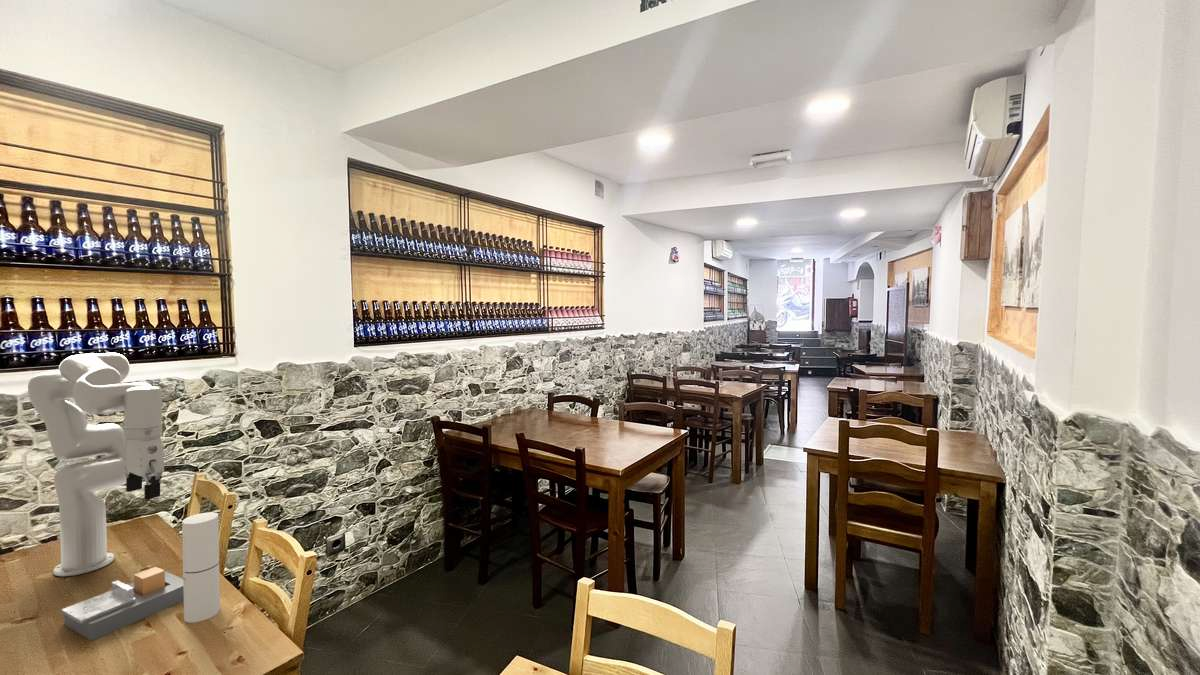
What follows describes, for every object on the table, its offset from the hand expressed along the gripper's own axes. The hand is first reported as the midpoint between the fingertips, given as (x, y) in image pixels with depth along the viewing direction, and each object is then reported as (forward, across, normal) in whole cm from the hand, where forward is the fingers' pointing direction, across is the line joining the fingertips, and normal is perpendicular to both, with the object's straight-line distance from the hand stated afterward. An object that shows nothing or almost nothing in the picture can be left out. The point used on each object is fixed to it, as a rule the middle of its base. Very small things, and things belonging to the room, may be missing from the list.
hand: (143, 494), depth 134 cm
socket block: (+27, -9, +6) cm, 29 cm away
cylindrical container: (+26, -27, -1) cm, 37 cm away
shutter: (+23, -9, +12) cm, 27 cm away
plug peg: (+27, -8, +2) cm, 28 cm away
